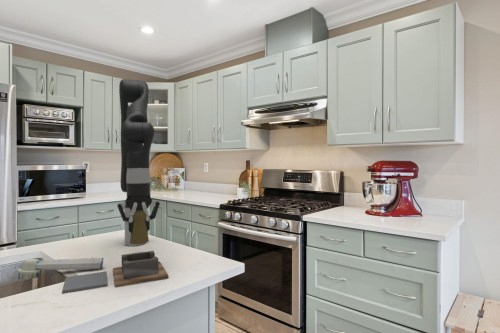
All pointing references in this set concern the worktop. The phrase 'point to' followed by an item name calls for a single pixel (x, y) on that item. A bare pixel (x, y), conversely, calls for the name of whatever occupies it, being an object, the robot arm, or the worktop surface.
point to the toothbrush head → (57, 266)
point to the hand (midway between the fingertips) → (139, 232)
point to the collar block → (139, 269)
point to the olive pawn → (139, 228)
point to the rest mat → (85, 282)
